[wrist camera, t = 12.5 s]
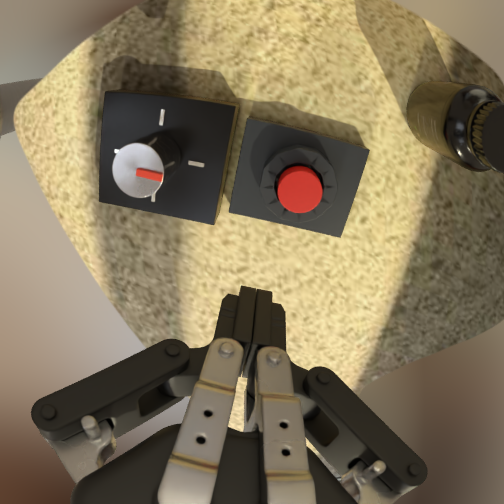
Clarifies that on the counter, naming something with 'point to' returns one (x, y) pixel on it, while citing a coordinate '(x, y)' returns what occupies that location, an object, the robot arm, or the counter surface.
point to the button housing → (288, 155)
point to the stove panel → (188, 140)
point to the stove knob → (146, 164)
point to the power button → (299, 189)
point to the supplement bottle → (459, 123)
